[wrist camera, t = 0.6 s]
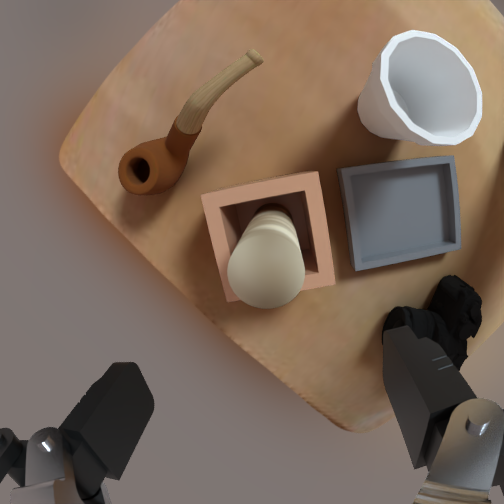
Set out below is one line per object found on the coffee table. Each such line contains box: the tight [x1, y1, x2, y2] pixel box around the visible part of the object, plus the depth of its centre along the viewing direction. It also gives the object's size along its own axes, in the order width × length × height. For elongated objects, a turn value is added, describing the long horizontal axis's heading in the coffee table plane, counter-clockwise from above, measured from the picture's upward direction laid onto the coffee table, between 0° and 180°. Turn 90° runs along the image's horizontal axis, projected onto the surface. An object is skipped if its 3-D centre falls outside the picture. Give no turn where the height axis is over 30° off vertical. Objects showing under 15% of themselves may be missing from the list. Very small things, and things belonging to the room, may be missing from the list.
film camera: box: [382, 275, 482, 371], centre depth 31 cm, size 15×10×9 cm, turn 165°
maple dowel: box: [227, 203, 305, 309], centre depth 25 cm, size 4×4×16 cm
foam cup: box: [357, 30, 482, 146], centre depth 23 cm, size 10×9×13 cm
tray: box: [337, 156, 461, 271], centre depth 30 cm, size 14×11×2 cm
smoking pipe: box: [118, 49, 264, 195], centre depth 26 cm, size 7×18×6 cm
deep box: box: [201, 171, 335, 302], centre depth 29 cm, size 10×10×9 cm
